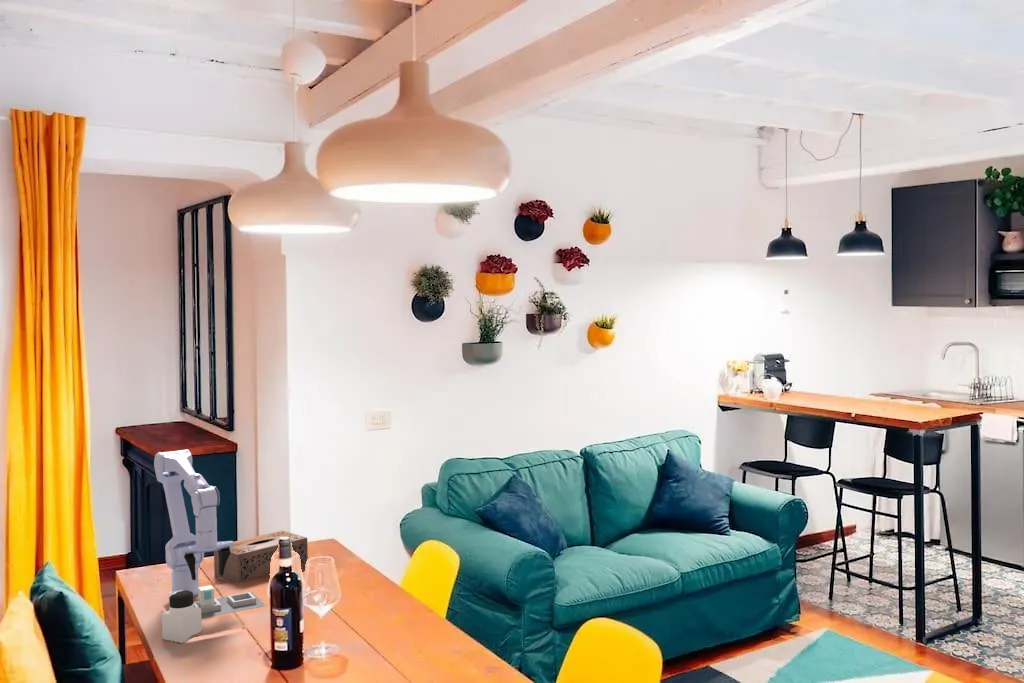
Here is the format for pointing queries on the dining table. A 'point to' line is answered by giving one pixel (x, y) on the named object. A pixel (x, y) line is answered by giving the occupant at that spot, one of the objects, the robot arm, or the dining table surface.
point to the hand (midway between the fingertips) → (207, 576)
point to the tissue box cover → (257, 556)
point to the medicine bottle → (181, 617)
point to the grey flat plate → (230, 604)
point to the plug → (205, 596)
